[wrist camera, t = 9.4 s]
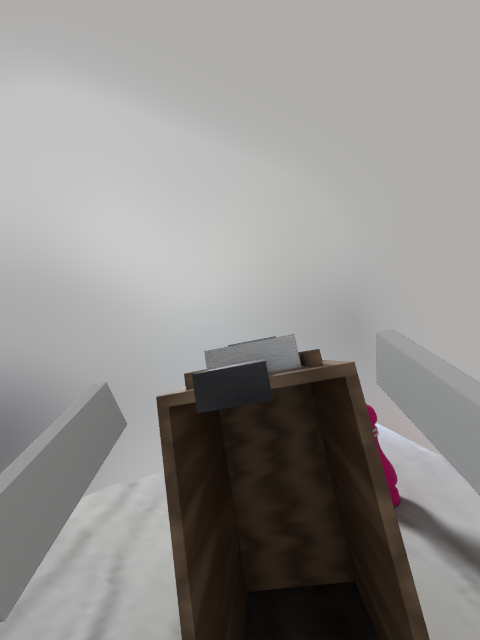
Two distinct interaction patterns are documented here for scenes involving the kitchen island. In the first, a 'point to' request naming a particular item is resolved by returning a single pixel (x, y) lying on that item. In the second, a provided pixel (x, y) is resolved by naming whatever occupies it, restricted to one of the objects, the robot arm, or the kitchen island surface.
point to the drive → (243, 372)
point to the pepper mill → (385, 461)
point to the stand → (282, 502)
